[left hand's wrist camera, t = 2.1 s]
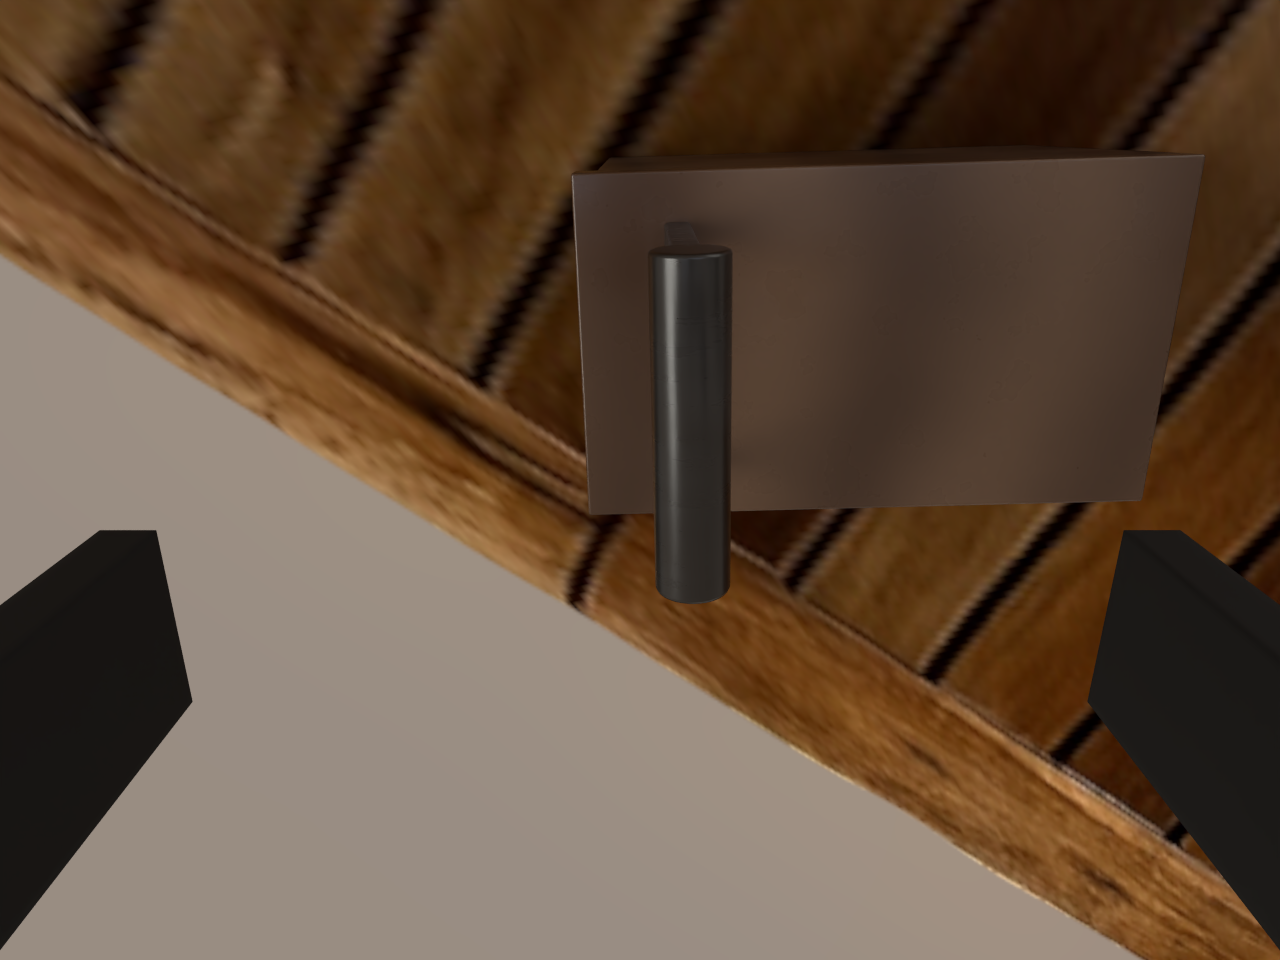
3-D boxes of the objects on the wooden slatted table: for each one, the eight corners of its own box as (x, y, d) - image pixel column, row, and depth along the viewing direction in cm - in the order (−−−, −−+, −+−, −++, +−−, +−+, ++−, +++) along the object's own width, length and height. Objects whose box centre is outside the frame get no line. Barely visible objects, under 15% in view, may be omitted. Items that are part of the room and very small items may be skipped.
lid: (590, 501, 29) (570, 654, 20) (573, 171, 25) (540, 193, 17) (1125, 488, 28) (1322, 636, 20) (1183, 153, 25) (1454, 166, 17)
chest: (618, 402, 39) (610, 500, 29) (609, 157, 35) (596, 170, 25) (996, 392, 39) (1123, 487, 28) (1026, 144, 35) (1183, 153, 25)
